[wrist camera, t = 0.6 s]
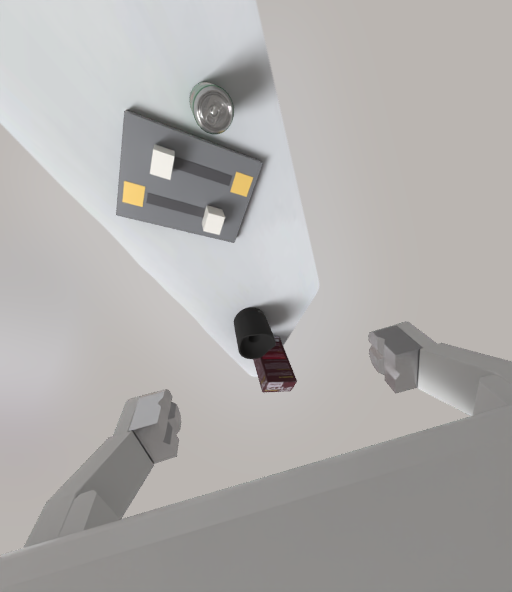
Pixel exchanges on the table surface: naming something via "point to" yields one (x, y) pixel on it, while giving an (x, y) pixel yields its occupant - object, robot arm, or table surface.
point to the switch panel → (182, 179)
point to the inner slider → (162, 162)
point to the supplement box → (275, 370)
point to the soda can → (211, 107)
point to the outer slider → (213, 220)
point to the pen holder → (253, 333)
